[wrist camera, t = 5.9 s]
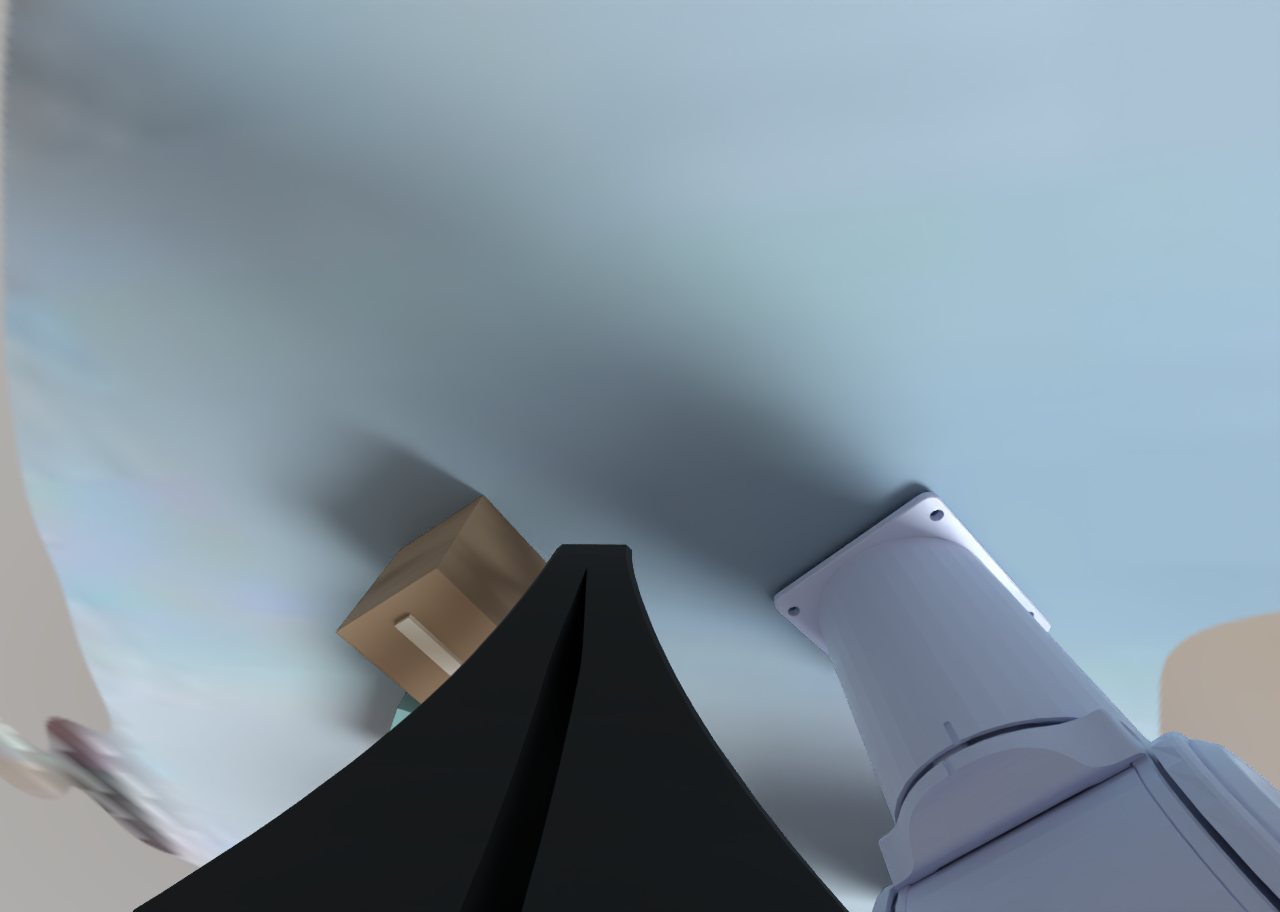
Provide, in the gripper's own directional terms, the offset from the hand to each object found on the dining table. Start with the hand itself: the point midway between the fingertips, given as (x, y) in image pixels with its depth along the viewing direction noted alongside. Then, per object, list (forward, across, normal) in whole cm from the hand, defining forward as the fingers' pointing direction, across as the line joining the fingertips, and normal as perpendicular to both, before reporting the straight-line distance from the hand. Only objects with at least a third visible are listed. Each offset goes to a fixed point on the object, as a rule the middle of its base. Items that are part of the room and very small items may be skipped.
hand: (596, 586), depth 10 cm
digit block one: (+11, +6, +8) cm, 14 cm away
